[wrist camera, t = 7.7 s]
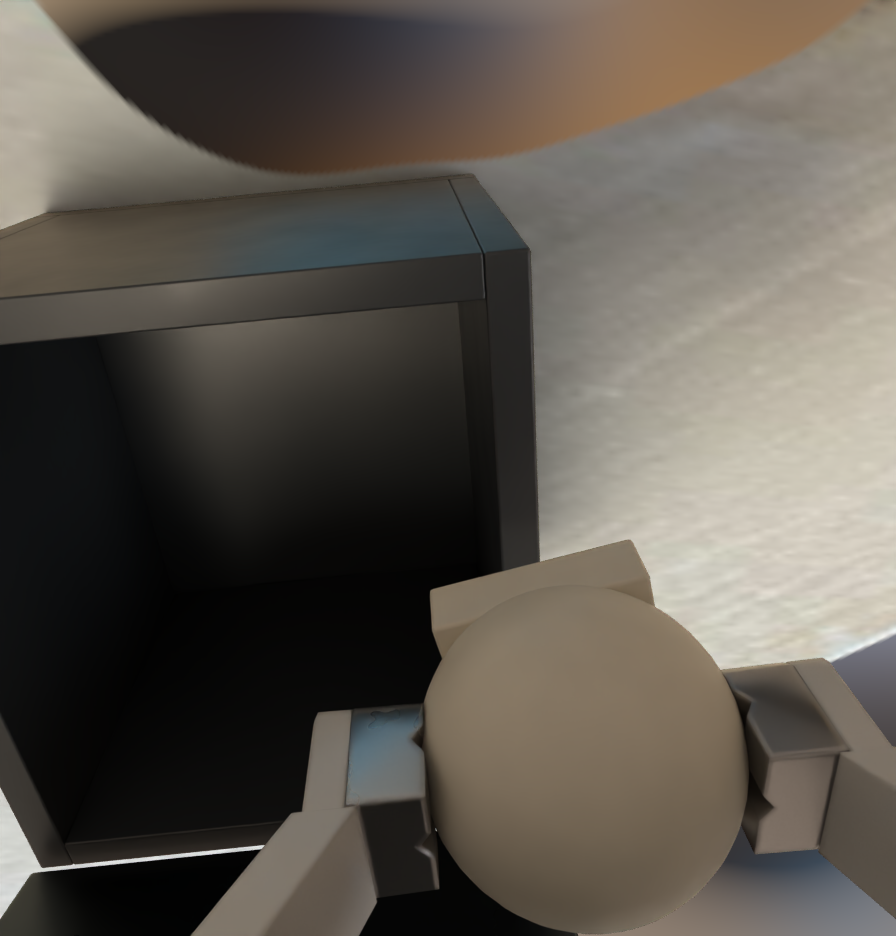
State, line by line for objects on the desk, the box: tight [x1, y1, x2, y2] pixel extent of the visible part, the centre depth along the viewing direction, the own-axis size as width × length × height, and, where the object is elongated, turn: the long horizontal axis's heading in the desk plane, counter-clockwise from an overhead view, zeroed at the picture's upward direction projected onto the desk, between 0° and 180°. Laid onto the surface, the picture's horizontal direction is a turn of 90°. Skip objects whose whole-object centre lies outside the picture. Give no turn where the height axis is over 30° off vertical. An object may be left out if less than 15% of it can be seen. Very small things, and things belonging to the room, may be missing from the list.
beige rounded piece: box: [422, 540, 749, 934], centre depth 10 cm, size 4×4×4 cm
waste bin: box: [0, 174, 540, 868], centre depth 23 cm, size 16×14×12 cm
